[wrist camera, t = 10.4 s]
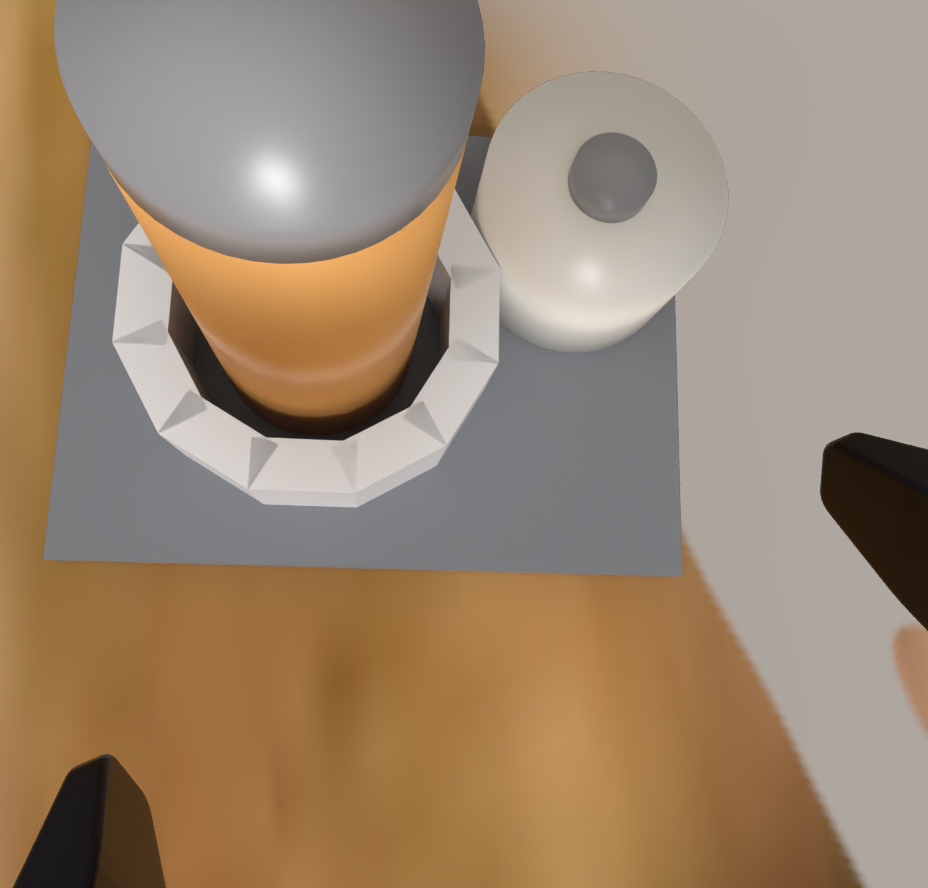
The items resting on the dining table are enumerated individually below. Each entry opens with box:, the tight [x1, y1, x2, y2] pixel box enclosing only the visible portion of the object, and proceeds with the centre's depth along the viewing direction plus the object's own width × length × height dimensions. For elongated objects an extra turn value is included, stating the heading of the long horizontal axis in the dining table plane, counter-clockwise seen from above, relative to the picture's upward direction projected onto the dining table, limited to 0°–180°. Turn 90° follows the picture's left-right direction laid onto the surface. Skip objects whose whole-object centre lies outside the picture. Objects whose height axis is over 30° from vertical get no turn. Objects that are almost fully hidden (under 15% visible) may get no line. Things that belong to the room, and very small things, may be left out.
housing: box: [43, 71, 728, 577], centre depth 21 cm, size 16×12×6 cm
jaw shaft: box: [54, 0, 485, 435], centre depth 16 cm, size 5×5×13 cm
